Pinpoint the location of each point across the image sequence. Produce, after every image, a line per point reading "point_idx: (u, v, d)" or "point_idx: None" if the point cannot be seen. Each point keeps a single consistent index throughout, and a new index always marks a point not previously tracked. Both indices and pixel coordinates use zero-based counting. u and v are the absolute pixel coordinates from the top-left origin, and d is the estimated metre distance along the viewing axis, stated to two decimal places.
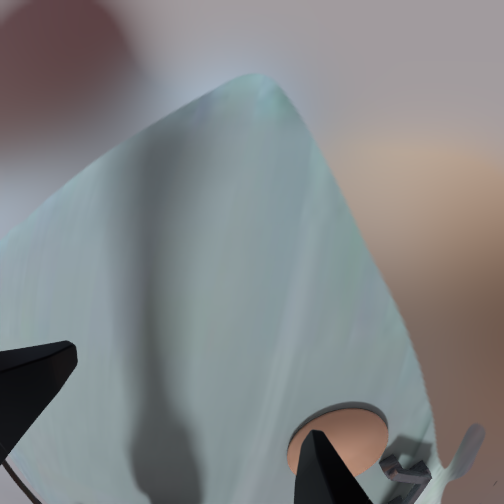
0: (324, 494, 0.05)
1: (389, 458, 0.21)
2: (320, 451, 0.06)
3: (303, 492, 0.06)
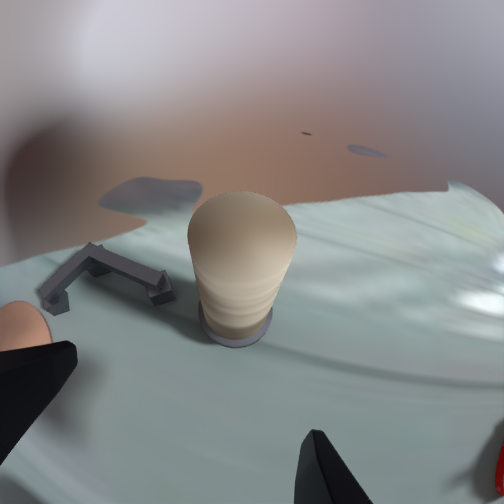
0: (324, 494, 0.05)
1: None
2: (320, 451, 0.06)
3: (303, 492, 0.06)
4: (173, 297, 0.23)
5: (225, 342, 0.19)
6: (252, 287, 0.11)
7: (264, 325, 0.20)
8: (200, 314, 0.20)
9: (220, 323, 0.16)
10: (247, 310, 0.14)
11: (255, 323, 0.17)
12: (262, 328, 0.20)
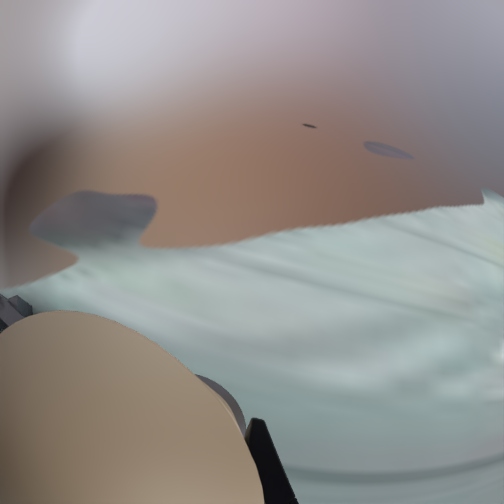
0: None
1: None
2: (254, 440, 0.06)
3: None
4: None
5: None
6: None
7: None
8: None
9: None
10: None
11: None
12: None
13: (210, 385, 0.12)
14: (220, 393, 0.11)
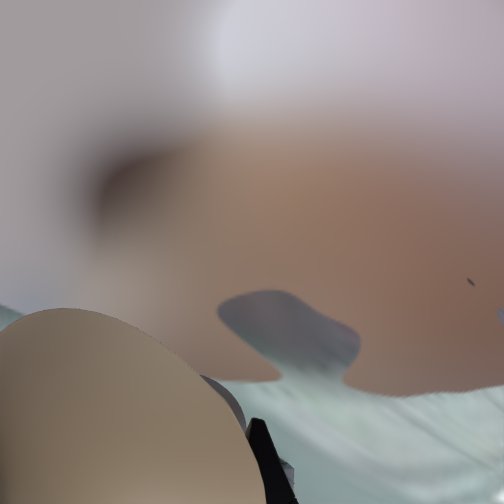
0: None
1: None
2: (254, 440, 0.06)
3: None
4: None
5: None
6: None
7: None
8: None
9: None
10: None
11: None
12: None
13: (210, 384, 0.12)
14: (220, 392, 0.11)
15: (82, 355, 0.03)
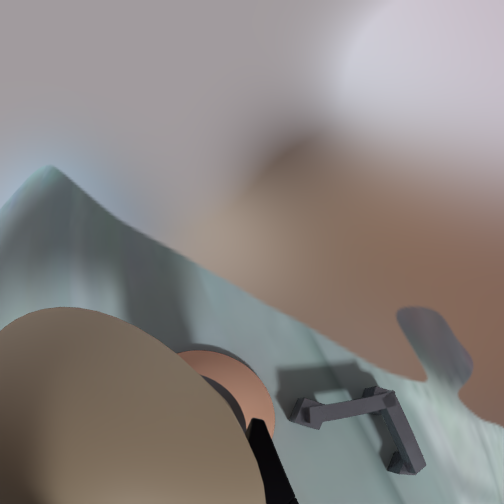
0: None
1: (296, 405, 0.19)
2: (254, 440, 0.06)
3: None
4: None
5: None
6: None
7: None
8: None
9: None
10: None
11: None
12: None
13: (210, 384, 0.12)
14: (220, 392, 0.11)
15: (81, 354, 0.03)
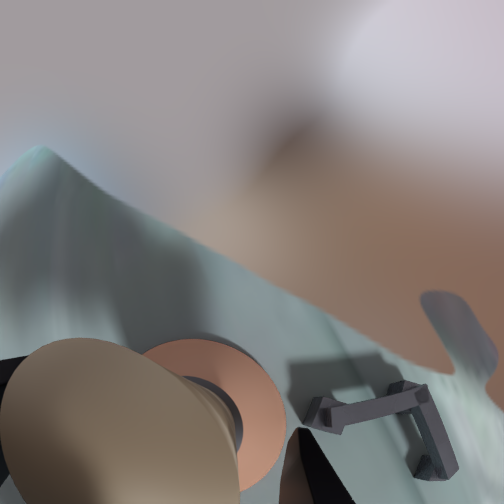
0: (306, 493, 0.05)
1: (311, 406, 0.15)
2: (304, 449, 0.06)
3: (287, 490, 0.06)
4: None
5: None
6: None
7: None
8: None
9: None
10: None
11: None
12: None
13: (210, 387, 0.12)
14: (219, 394, 0.12)
15: (99, 375, 0.04)
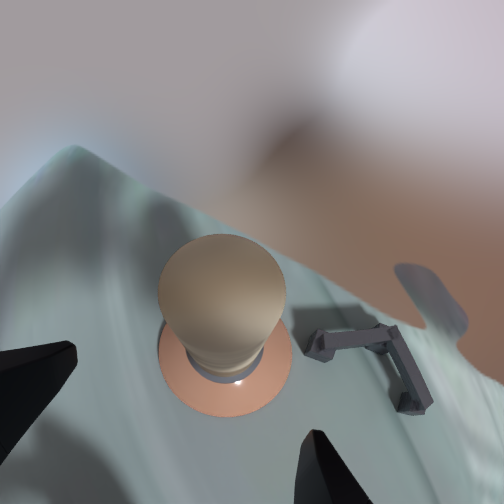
0: (324, 494, 0.05)
1: (310, 340, 0.22)
2: (320, 451, 0.06)
3: (303, 492, 0.06)
4: (413, 415, 0.19)
5: (213, 379, 0.17)
6: (232, 354, 0.09)
7: (255, 361, 0.18)
8: (187, 349, 0.18)
9: (205, 367, 0.14)
10: (231, 364, 0.12)
11: (243, 367, 0.15)
12: (252, 364, 0.18)
13: None
14: None
15: (226, 246, 0.11)
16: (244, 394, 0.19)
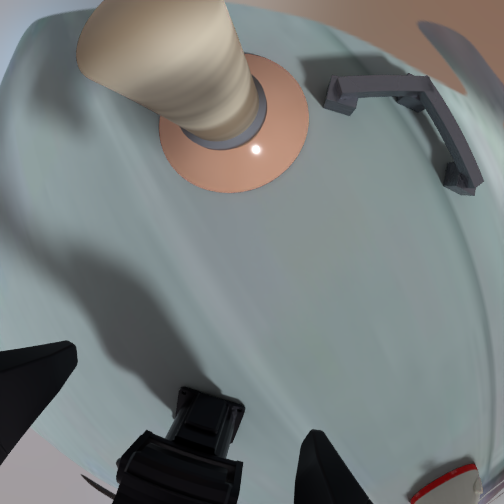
0: (324, 494, 0.05)
1: (327, 91, 0.17)
2: (320, 451, 0.06)
3: (303, 492, 0.06)
4: (462, 194, 0.16)
5: (214, 146, 0.15)
6: (165, 77, 0.06)
7: (258, 115, 0.15)
8: None
9: (188, 128, 0.12)
10: (197, 104, 0.09)
11: (232, 116, 0.12)
12: (256, 119, 0.15)
13: None
14: None
15: None
16: (260, 160, 0.18)
